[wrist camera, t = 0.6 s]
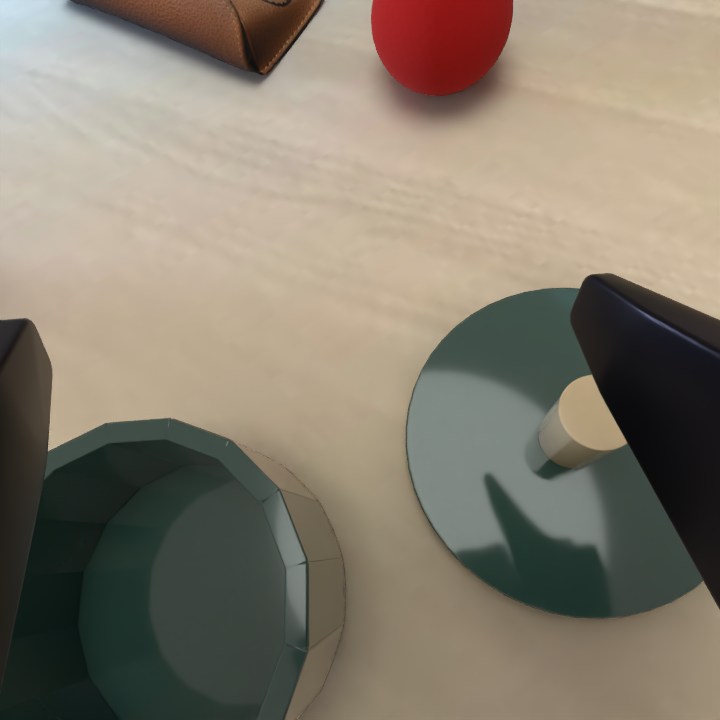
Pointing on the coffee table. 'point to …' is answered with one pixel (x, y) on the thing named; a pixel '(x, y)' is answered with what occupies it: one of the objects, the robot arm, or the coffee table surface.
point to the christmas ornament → (440, 41)
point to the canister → (173, 583)
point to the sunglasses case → (221, 25)
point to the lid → (538, 468)
